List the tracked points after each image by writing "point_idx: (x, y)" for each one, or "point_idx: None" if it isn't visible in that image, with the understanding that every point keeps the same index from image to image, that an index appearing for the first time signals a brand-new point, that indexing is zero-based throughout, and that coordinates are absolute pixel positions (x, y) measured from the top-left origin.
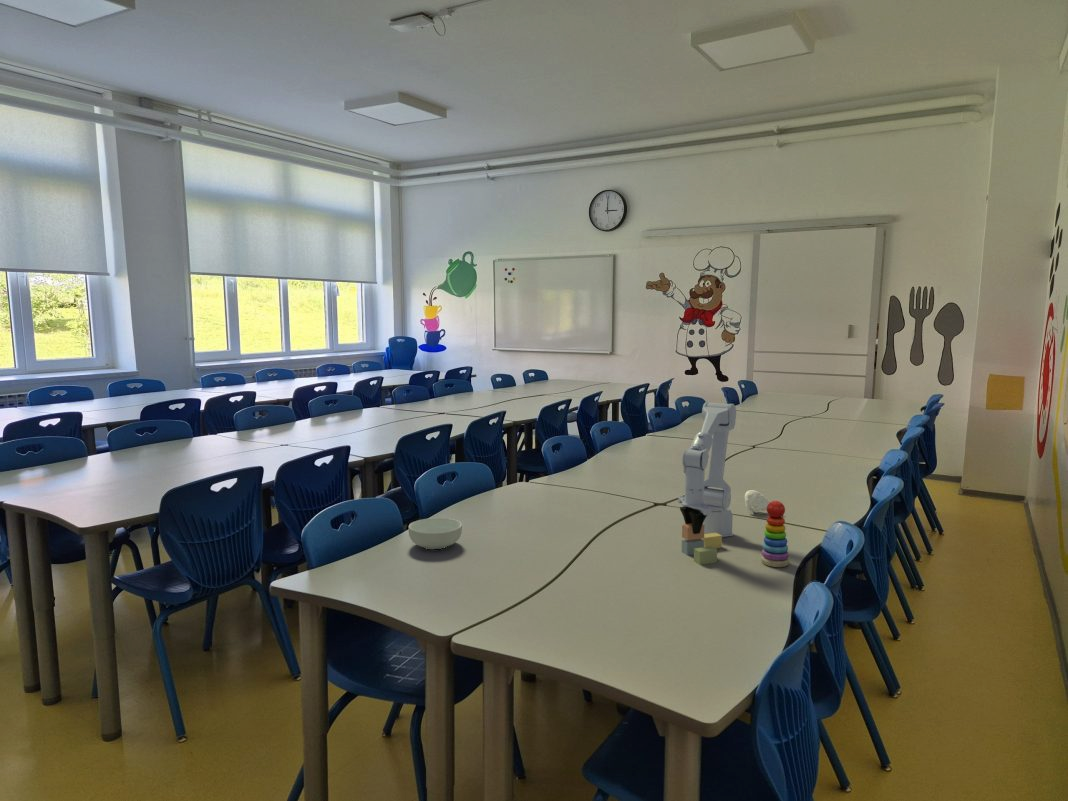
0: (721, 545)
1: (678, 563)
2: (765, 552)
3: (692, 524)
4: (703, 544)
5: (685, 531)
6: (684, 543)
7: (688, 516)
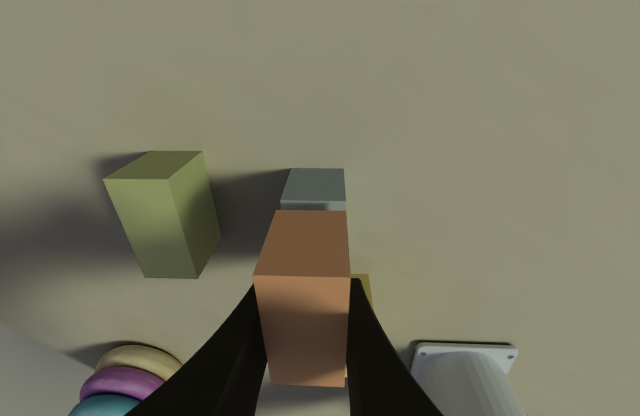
0: None
1: (179, 44)
2: (110, 387)
3: (243, 329)
4: None
5: (296, 243)
6: (314, 193)
7: (355, 399)
